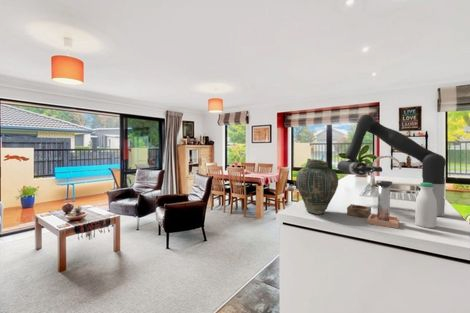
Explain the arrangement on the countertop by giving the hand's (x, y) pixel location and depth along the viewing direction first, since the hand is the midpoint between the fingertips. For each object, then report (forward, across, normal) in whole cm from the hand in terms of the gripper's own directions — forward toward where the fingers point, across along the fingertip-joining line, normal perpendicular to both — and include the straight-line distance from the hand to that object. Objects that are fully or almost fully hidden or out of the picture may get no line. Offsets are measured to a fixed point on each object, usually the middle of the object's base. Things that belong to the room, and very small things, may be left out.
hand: (373, 170), depth 125 cm
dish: (+12, -2, +25) cm, 28 cm away
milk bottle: (+15, +15, +26) cm, 33 cm away
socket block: (-2, -7, +24) cm, 25 cm away
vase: (-6, -29, +24) cm, 38 cm away
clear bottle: (+12, -2, +24) cm, 27 cm away
